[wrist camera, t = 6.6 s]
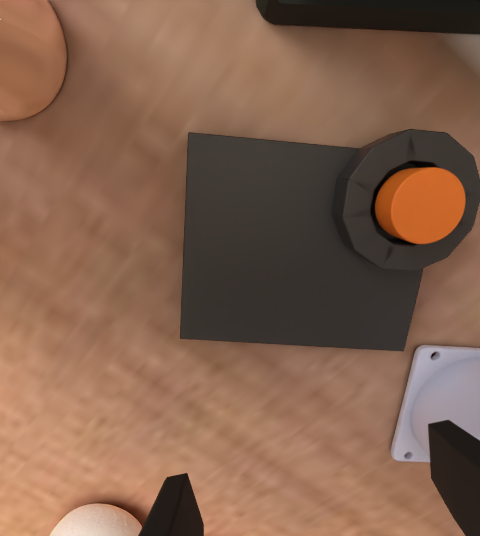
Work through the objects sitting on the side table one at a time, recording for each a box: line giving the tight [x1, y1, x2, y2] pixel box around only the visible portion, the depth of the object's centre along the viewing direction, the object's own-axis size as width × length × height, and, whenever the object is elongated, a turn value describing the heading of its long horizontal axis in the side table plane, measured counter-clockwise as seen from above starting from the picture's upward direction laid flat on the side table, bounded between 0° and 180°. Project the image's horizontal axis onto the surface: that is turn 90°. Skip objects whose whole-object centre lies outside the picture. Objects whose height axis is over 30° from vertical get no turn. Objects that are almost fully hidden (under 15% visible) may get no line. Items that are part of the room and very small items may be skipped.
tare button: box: [375, 167, 466, 244], centre depth 14 cm, size 3×3×2 cm
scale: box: [180, 129, 480, 351], centre depth 16 cm, size 13×11×3 cm
